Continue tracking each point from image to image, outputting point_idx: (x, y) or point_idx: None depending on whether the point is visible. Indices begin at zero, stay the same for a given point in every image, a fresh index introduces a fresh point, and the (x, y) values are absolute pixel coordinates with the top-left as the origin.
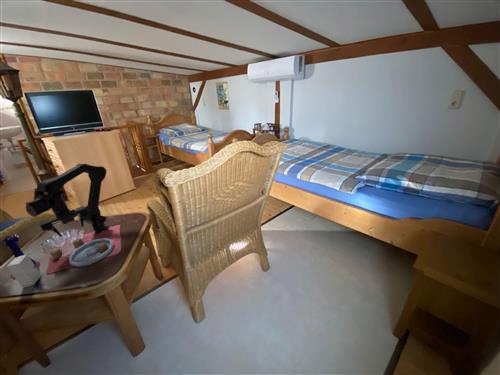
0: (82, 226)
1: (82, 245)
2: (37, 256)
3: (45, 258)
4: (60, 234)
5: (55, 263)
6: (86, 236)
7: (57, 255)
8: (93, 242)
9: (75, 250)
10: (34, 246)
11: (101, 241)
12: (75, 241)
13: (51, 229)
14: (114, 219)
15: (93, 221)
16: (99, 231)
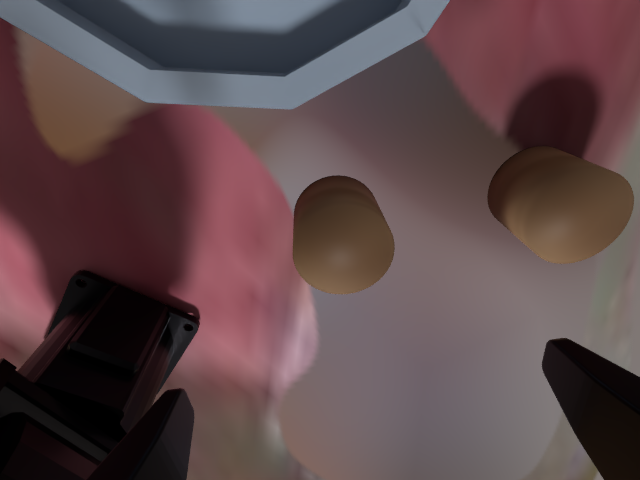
0: (173, 401)
1: (309, 86)
2: (614, 329)
3: None
4: (598, 375)
5: (604, 56)
6: (260, 336)
7: (563, 157)
8: (174, 69)
9: (412, 16)
10: (562, 457)
11: (69, 12)
12: (361, 251)
13: None
14: None
15: (1, 448)
16: (112, 300)
